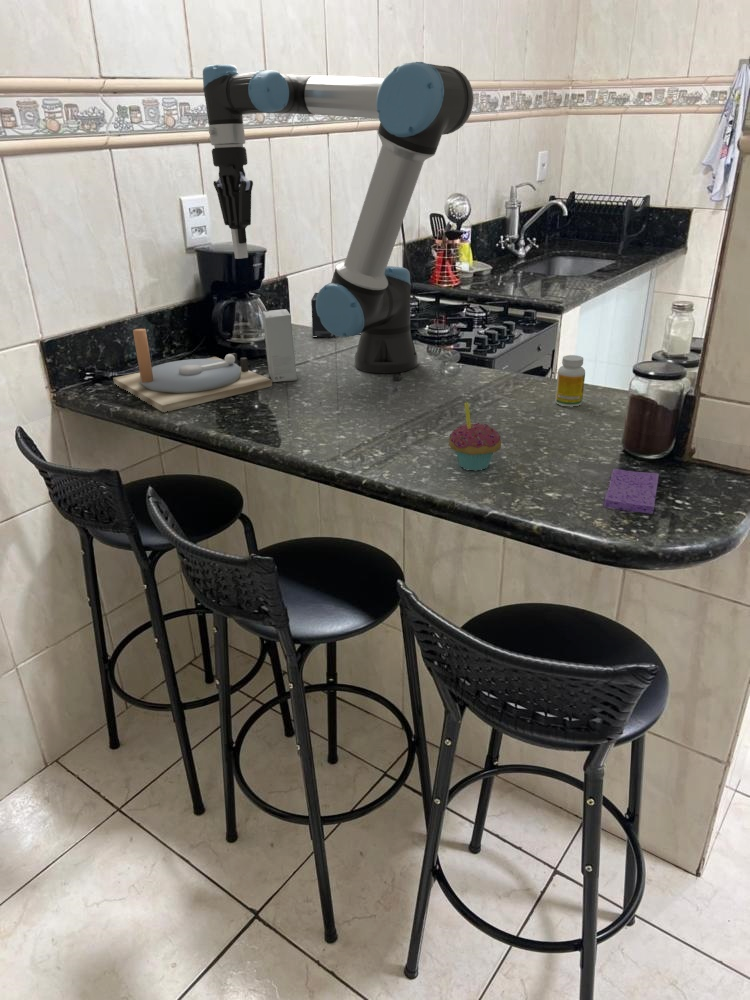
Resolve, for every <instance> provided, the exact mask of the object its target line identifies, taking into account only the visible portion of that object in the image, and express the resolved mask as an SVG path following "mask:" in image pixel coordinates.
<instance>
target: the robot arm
mask: <svg viewBox="0 0 750 1000" xmlns="http://www.w3.org/2000/svg"><path fill="white" fill-rule="evenodd" d="M202 82H203V83H202V84H203V85H202V86H203V89H202V91H203V93H204V100H205V106H206V115H207V121H208V122H207V125H208V129H209V131H208V133H209V138H210V144H211V145H212V146H214V147H213V148H212V149H211V156H212V162H213V166H214V167H216V168H217V167H218V180H214V181H213V186H214V189H215V191H216V194H217V199H218V202H219V206H220V210H221V211H220V212H221V215H222V219H223V222H224V223H223V224H224V225H225V226H228V227H229V229H230V231H231V239H232V240H231V241H232V246H233V252H234V259H235V260H236V259H237V260H239V259H241V260H242V259H248V258H249V254H248V253H249V252H248V245H247V243H248V242H247V232H246V229H247V227H248V226H251V224H252V191H253V186H254V182H253V180H252V179H251V180H249V179H248V178H247V177H246V172H245V170H244V166H246V165H248V155H247V154H248V153H247V148H246V147H245V146H244V145H245V144H246V136H245V126H244V120H243V119H244V118H243V115H250V114H251V115H252V114H253V115H254V114H293V115H295V114H296V115H315V116H316V115H317V116H330V117H331V116H332V117H333V116H334V117H344V118H345V117H347V118H348V117H349V118H360V119H361V118H363V119H378V121H379V126H378V129H377V135H378V138H379V139H380V141H381V147H380V151H379V154H378V157H377V160H376V163H375V165H374V169H373V173H372V176H371V179H370V181H369V186H368V188H367V192H366V195H365V198H364V201H363V205H362V207H361V210H360V213H359V216H358V221H357V224H356V227H355V230H354V233H353V236H352V239H351V243H350V244H349V248H348V251H347V256H346V259H344V260H342V261H340V262H338V263H337V264H336V266H335V269H334V272H333V275H332V278H331V282H329V283H328V284H325V285H324V286H322V287H321V289H320V290H319V291H318V292H317V293H318V295H317V298H316V311H317V314H318V316H319V317H320V321H321V323H322V325H323V326H324V327H325V328H326V329H327V330H328V331H329V332H330V333H332V334H333V335H335V337H339V338H349V337H354V336H358V335H360V337H359V340H358V345H357V348H356V352H355V355H354V366H355V368H356V369H358V370H360V371H363V372H367V373H374V374H394V373H395V374H396V373H403V372H407V371H411V370H413V369H415V368H416V367H417V366H418V353H417V351H416V347H415V343H414V341H413V340H414V339H413V337H412V334H411V298H412V297H411V295H412V294H411V290H412V289H411V288H412V283H411V274H410V273H411V272H410V271H409V270H408V269H407V268H405V267H401V266H391V265H389V264H388V263H389V261H390V259H391V256H392V253H393V249H394V247H395V245H396V242H397V239H398V235H399V233H400V230H401V228H402V224H403V222H404V219H405V216H406V213H407V211H408V208H409V204H410V202H411V200H412V197H413V194H414V191H415V188H416V185H417V182H418V180H419V176H420V174H421V170H422V168H423V165H424V162H426V160H428V159H429V158H432V157H433V156H435V155H436V152H437V149H438V146H439V145H440V141H441V139H442V135H449V134H452V133H454V132H456V131H458V130H460V129H461V128H462V127H463V126H464V125H465V124H466V122H467V121H468V120H469V118H470V116H471V113H472V111H473V107H474V91H473V87H472V85H471V83H470V80H469V79H468V78H467V76H466V75H465V74H464V73H462V71H460V70H459V69H457V68H455V67H452V66H448V65H439V64H438V65H437V64H432V63H426V62H423V61H412V62H408V63H407V62H406V63H403V64H399V65H398V66H396V67H394V68H392V69H391V70H390V71H389V72H387V75H386V76H385V77H379V76H378V77H377V76H375V77H374V76H343V75H342V76H341V75H337V76H336V75H307V74H288V73H287V74H283V73H281V72H279V71H277V70H274V69H273V70H270V69H269V70H267V69H265V70H264V69H263V70H262V69H261V70H259V71H255V72H254V71H253V72H246V73H245V72H244V73H239V72H238V67H236V65H233V64H210V65H207V66H205V67H203V69H202ZM388 265H389V266H388Z"/></svg>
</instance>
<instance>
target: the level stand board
mask: <svg viewBox="0 0 750 1000" xmlns="http://www.w3.org/2000/svg"><path fill="white" fill-rule="evenodd" d="M230 354H232V355H233V356H234V357H235V362H234V363H235V364H237V365H238V366H239V364H238V363H239V362H240V366H239V367H240V371H241V376H240V378H239V379H237V380H236V381H234V382H233V383H230V384H228V385H225V386H222V387H219V388H215V389H210V390H205V391H197V392H185V393H169V392H159V391H153V390H150V389H147V388H145V387H143V386H142V385H141V382H140V371H139V372H134V373H130V374H125V375H121V376H115V377H113V378H112V379H113V385H115V384H116V385H117V387H118V386H119V387H118V388H120V389H122V390H123V389H124V390H123V391H125V390H126V391H125V392H127V391H128V392H127V393H129V392H130V393H131V394H130V393H129V394H130V395H132V394H133V396H134V395H135V396H134V397H136V398H137V397H138V398H137V399H139V398H140V400H141V401H143V402H144V401H145V402H144V403H146V402H147V404H148V405H149V406H151V405H152V406H151V407H153V408H155V409H156V410H158V411H160V412H162V413H163V412H164V413H167V411H168V412H172V411H174V410H175V411H176V410H179V409H183V408H187V407H192V406H196V405H199V404H200V405H201V404H204V403H209V402H213V401H217V400H220V399H221V400H222V399H225V398H229V397H232V396H238V395H242V394H245V393H250V392H253V391H257V390H262V389H266V388H270V387H273V382H272V379H271V378H268V377H266V376H264V375H261V374H259V373H256V372H254V371H251V370H249V362H248V358H247V357H240V358H239V360H240V361H239V362H238V354H237V353H235V352H233V353H231V352H230ZM205 359H218V360H223V359H222V358H219V357H217V356H212V357H207V358H205ZM116 385H115V386H116Z"/></svg>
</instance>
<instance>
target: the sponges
mask: <svg viewBox="0 0 750 1000" xmlns="http://www.w3.org/2000/svg"><path fill="white" fill-rule="evenodd" d="M659 476H660V474H659V473H658V472H657V473H656V472H645V471H644V472H642V471H634V470H624V469H620V468H613V469H612V473H611V478H610V481H609V484H608V485H609V486H608V488H607V491H606V494H605V498H604V501H603V508H608V509H609V508H610V509H616V510H622V511H629V512H636V513H644V514H649V515H650V514H651V515H652V514H654V510H655V509H654V508H655V503H656V496H657V489H658V484H659Z"/></svg>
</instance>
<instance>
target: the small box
mask: <svg viewBox="0 0 750 1000" xmlns="http://www.w3.org/2000/svg"><path fill="white" fill-rule="evenodd" d="M318 293H319V292H315V293H313V296H312V297H311V300H310V301H311V302H310V303H311V304H310V305H311V324H312V325H311V327H312V332H311V333H312V337H313V336H317V337H334V338H335V337H336V336H335V335H333V334H332V333H330V332H329V331H328V330H327V329H326V328H325V327H324V326H323V325H322V323H321V321H320V317H319V316H318V314H317V311H316V298H317V295H318Z"/></svg>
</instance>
